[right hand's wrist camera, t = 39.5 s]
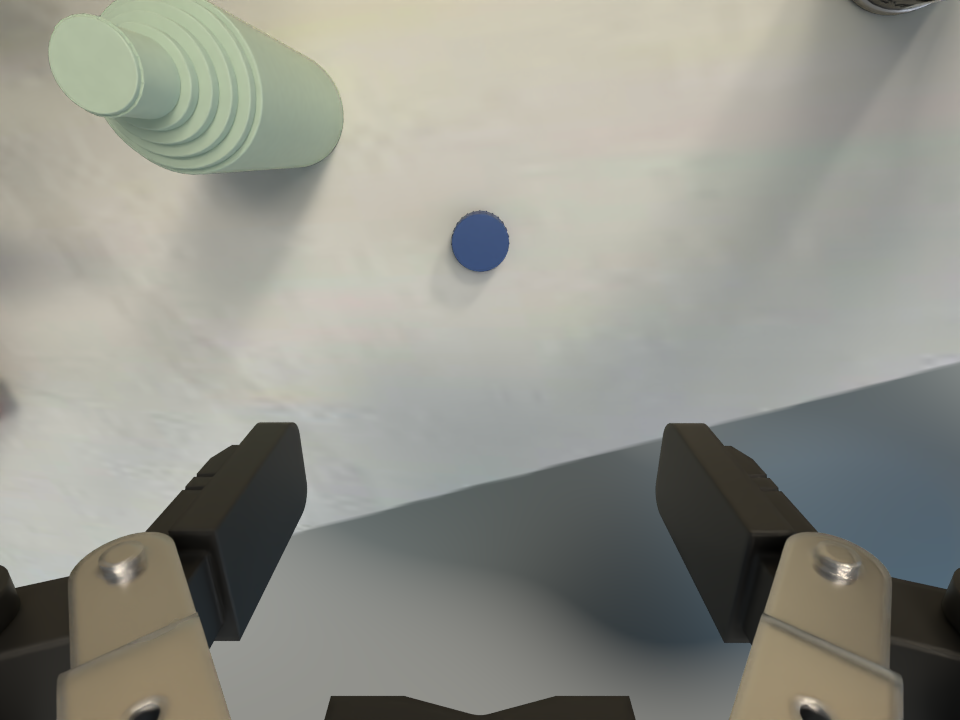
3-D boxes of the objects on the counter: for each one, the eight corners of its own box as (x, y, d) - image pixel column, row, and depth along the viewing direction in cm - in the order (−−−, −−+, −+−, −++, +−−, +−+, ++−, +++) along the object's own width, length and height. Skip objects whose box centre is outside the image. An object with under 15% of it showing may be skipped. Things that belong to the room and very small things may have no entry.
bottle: (365, 125, 39) (246, 94, 19) (288, 188, 40) (107, 220, 21) (293, 26, 36) (75, -124, 17) (215, 97, 38) (-67, 37, 18)
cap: (515, 219, 41) (517, 222, 39) (499, 272, 43) (500, 279, 41) (460, 203, 41) (459, 205, 39) (446, 258, 42) (444, 263, 40)
